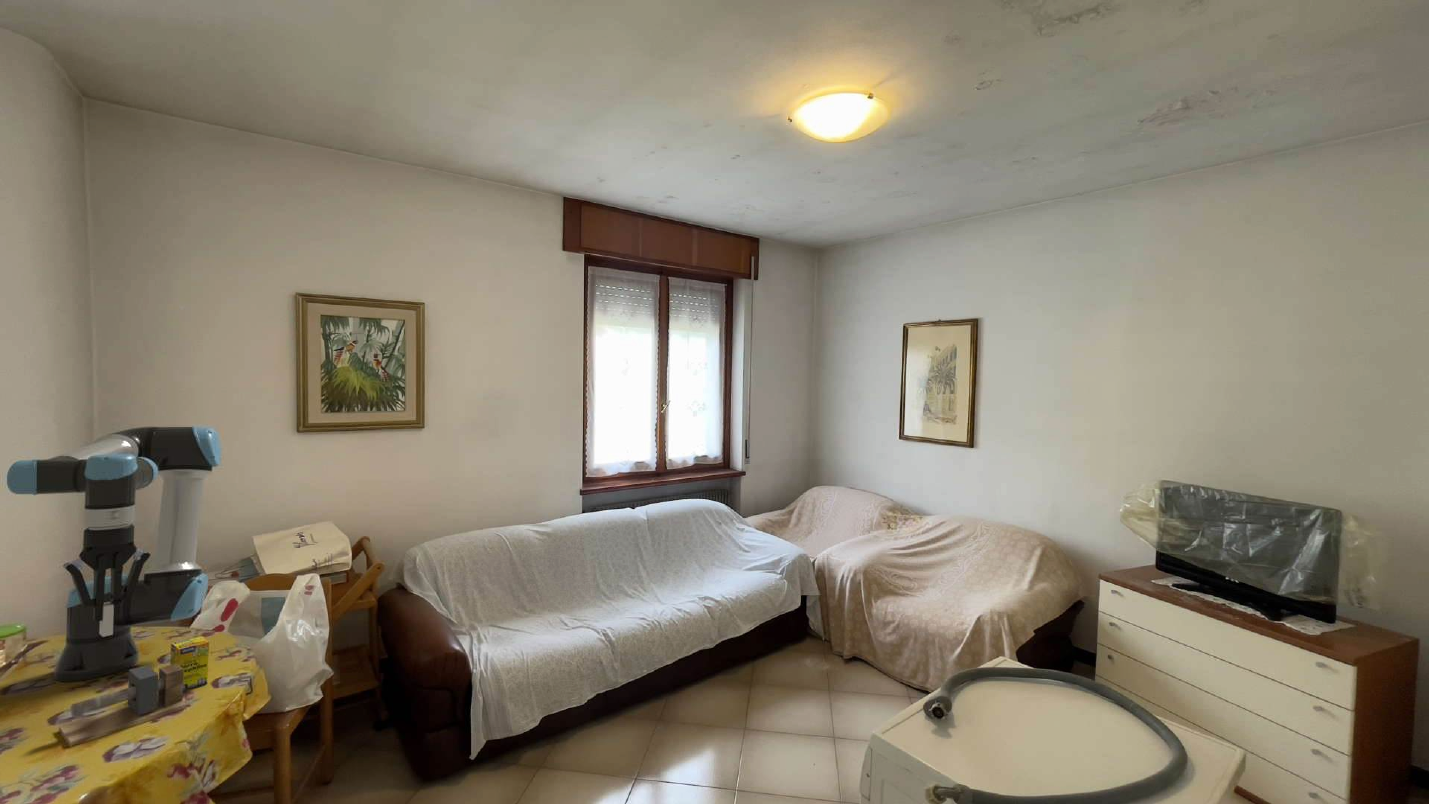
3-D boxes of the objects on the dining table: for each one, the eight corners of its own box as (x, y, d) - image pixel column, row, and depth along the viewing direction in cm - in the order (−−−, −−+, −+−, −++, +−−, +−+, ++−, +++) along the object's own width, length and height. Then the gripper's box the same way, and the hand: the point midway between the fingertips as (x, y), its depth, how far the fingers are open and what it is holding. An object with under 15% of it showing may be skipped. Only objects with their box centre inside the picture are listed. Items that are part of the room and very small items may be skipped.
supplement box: (176, 694, 137) (178, 649, 137) (168, 686, 140) (170, 643, 141) (208, 684, 142) (209, 641, 142) (199, 677, 146) (201, 635, 146)
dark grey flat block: (138, 715, 125) (139, 679, 125) (127, 704, 129) (129, 669, 129) (156, 709, 128) (158, 674, 128) (145, 699, 132) (147, 665, 132)
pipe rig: (70, 746, 116) (72, 705, 116) (58, 730, 121) (60, 691, 121) (185, 708, 131) (187, 672, 131) (171, 695, 136) (172, 660, 136)
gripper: (68, 534, 114) (65, 649, 114) (156, 523, 125) (152, 628, 125) (59, 528, 118) (56, 640, 118) (145, 518, 129) (142, 620, 129)
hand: (106, 634), depth 122 cm, fingers closed
